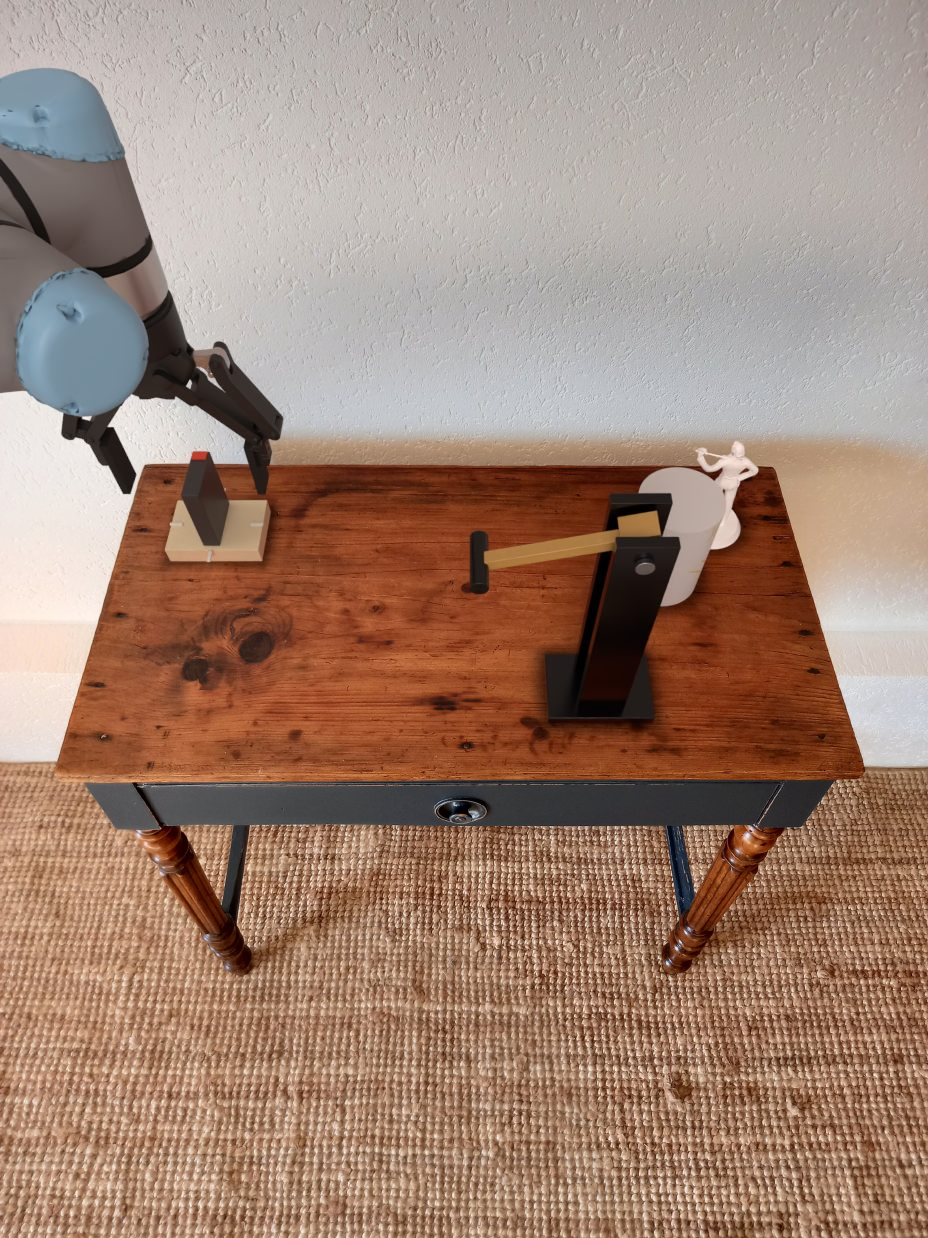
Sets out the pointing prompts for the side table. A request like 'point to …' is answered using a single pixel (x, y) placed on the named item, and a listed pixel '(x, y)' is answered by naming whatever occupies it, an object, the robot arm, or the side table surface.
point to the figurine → (728, 488)
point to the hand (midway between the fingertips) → (196, 484)
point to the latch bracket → (616, 625)
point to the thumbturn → (205, 498)
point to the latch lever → (552, 548)
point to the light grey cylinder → (688, 523)
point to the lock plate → (238, 538)
